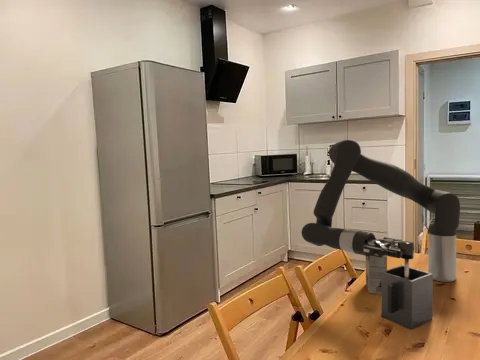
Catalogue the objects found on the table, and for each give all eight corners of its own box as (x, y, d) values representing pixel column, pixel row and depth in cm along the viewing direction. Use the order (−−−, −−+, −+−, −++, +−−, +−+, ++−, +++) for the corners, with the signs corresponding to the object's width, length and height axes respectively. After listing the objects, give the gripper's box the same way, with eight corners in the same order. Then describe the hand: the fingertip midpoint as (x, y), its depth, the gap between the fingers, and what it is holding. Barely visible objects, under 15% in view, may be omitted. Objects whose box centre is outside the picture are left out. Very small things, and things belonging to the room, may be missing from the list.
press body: (401, 308, 119) (401, 265, 117) (432, 320, 110) (432, 273, 109) (374, 319, 112) (374, 274, 110) (405, 333, 103) (405, 284, 102)
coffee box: (365, 283, 140) (364, 241, 139) (383, 284, 139) (383, 241, 137) (368, 293, 131) (368, 248, 130) (387, 294, 130) (387, 248, 128)
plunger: (402, 304, 117) (402, 237, 115) (427, 313, 110) (428, 243, 108) (385, 311, 113) (385, 242, 111) (410, 321, 106) (411, 248, 104)
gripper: (345, 234, 116) (396, 243, 104) (368, 226, 126) (417, 234, 114) (345, 258, 117) (396, 269, 105) (368, 248, 127) (417, 258, 115)
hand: (407, 251), depth 110 cm, fingers open, 8 cm apart
